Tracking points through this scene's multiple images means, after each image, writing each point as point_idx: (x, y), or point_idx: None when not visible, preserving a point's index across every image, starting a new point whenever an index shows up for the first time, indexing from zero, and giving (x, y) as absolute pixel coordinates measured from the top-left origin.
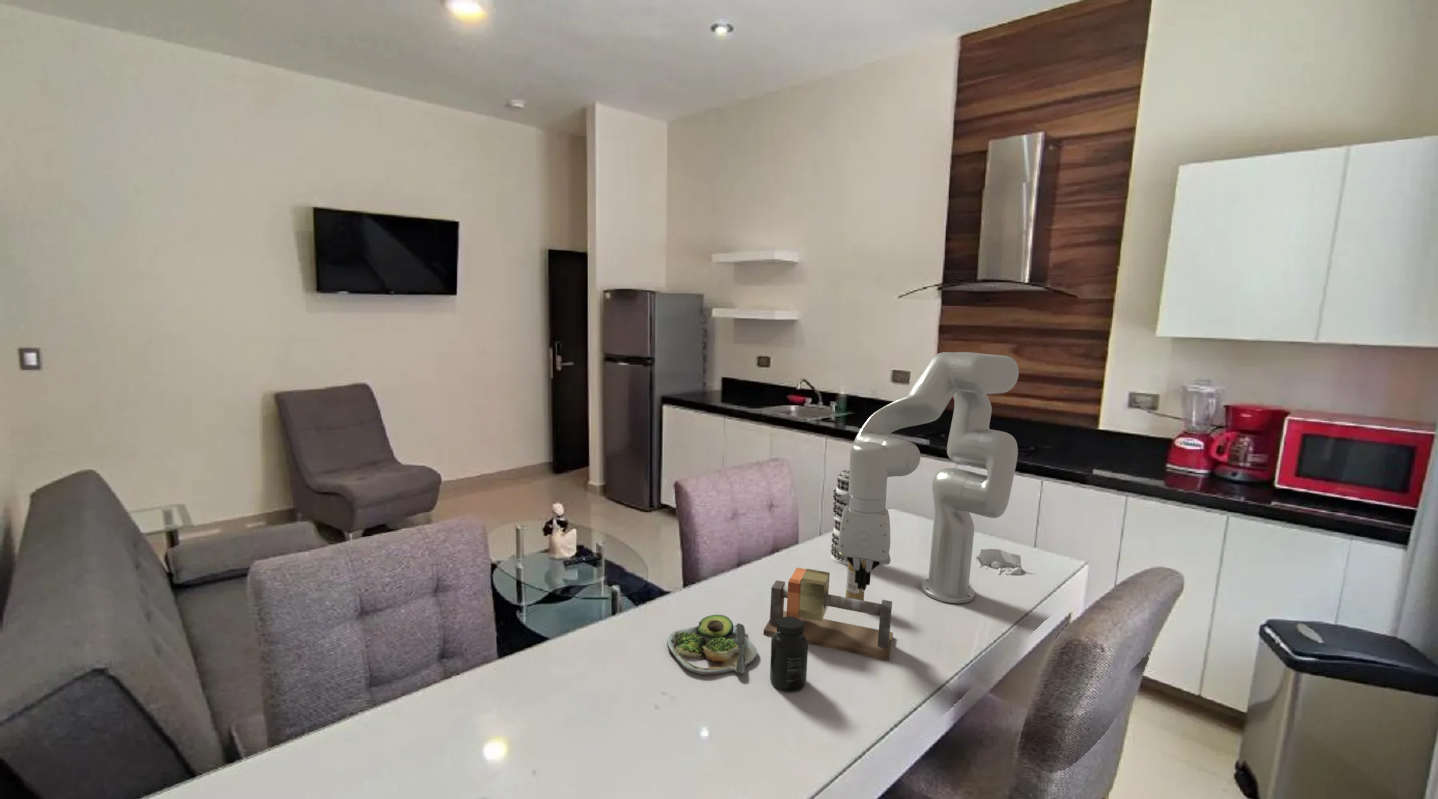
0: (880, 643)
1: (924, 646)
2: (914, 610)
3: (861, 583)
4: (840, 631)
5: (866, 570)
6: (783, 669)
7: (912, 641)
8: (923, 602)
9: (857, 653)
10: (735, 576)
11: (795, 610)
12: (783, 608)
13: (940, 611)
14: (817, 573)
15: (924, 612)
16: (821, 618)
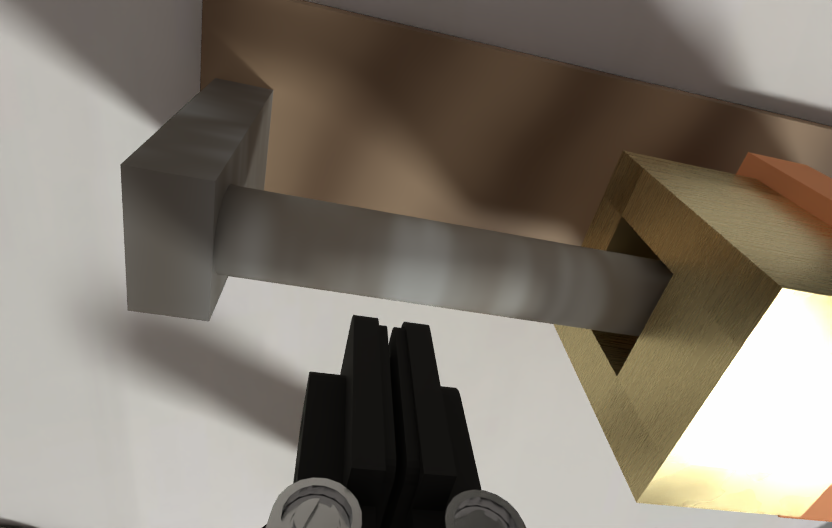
0: (254, 92)
1: (30, 179)
2: (124, 454)
3: (391, 374)
4: (467, 203)
5: (344, 504)
6: None
7: (99, 215)
8: (95, 509)
9: (388, 21)
10: (803, 519)
11: (811, 184)
12: None
13: (14, 468)
14: (747, 471)
15: (80, 449)
16: (632, 158)
